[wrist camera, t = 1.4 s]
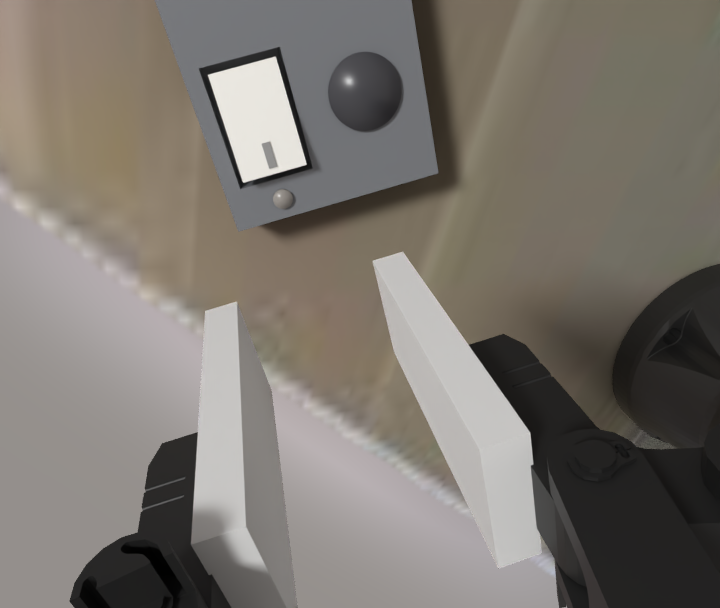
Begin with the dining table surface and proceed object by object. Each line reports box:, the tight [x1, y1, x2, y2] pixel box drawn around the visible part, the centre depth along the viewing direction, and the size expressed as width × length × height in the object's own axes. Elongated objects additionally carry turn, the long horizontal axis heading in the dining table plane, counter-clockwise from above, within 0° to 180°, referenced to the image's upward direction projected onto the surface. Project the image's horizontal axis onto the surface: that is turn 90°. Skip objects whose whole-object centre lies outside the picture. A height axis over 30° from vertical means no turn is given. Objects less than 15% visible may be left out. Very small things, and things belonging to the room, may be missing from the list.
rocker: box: [208, 57, 307, 183], centre depth 27 cm, size 5×3×1 cm, turn 13°
